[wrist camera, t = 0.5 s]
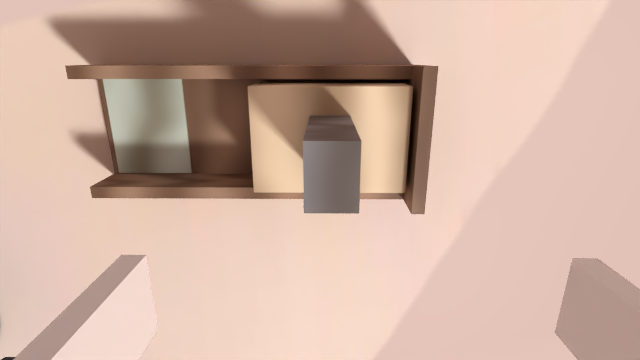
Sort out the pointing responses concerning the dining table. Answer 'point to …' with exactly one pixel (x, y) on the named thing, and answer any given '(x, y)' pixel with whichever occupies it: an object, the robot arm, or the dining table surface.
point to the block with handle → (330, 140)
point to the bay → (225, 126)
